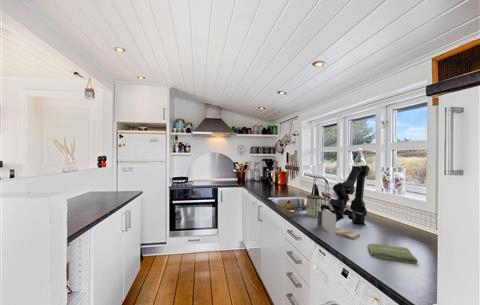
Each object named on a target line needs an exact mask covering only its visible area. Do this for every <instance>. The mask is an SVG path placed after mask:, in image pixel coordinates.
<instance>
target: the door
mask: <svg viewBox="0 0 480 305" xmlns="http://www.w3.org/2000/svg"><path fill="white" fill-rule="evenodd" d="M321 211H322V210H321ZM321 225H322V226H323V227H324V228H325V229H326V230H327V231H328V232H327V231H326V232H327V233H329V234H330V235H331V236H332V237H334V238H335V237H336V235H337V234H336V228H337V222H336V215H335V214H333V213H332V212H330V211H329V210H328V209H326V208H323V211H322V213H321Z"/></svg>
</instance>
